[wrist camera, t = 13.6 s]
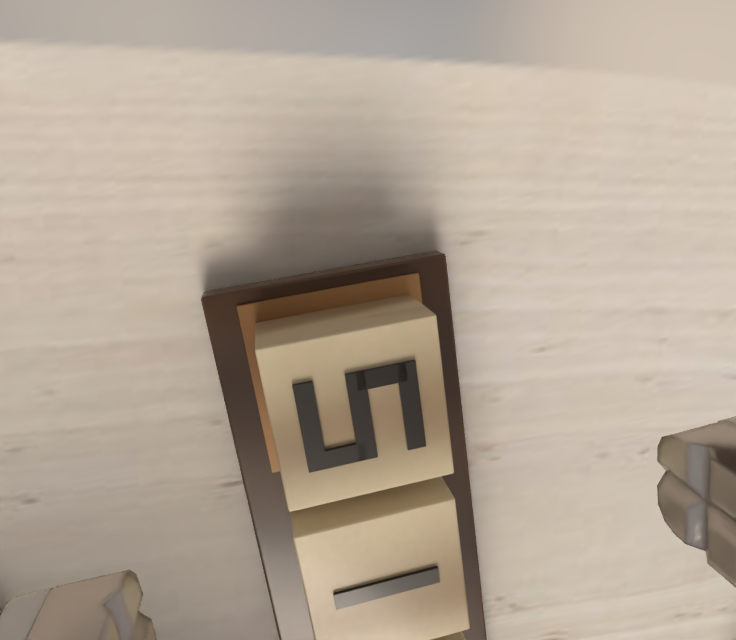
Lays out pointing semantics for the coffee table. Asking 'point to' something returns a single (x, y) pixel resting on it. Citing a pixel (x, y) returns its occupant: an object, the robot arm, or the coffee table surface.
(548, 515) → the coffee table surface
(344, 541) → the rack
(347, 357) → the tile
